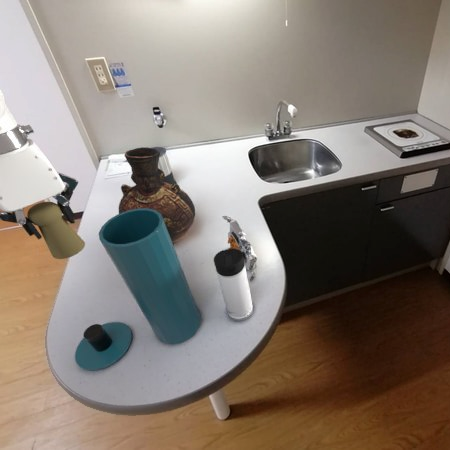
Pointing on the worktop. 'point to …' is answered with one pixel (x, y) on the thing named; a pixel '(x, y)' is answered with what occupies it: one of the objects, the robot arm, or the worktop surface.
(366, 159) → the worktop surface
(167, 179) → the milk frother
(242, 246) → the meal
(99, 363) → the lid
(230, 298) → the travel mug
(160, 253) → the teal faceted tube
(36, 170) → the robot arm
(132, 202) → the ceramic vessel
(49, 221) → the cork
